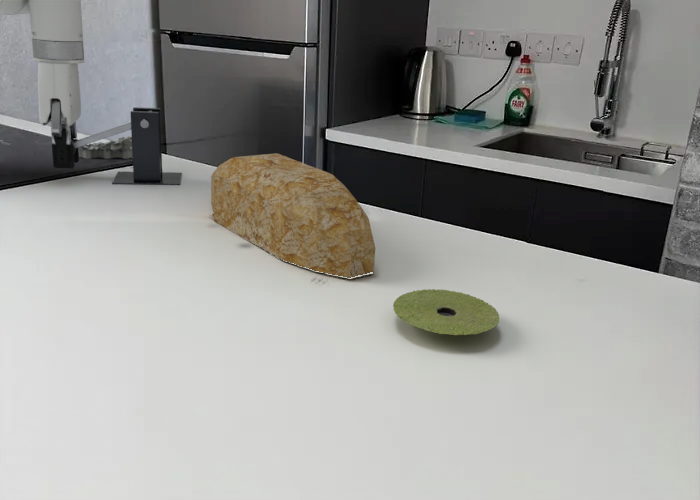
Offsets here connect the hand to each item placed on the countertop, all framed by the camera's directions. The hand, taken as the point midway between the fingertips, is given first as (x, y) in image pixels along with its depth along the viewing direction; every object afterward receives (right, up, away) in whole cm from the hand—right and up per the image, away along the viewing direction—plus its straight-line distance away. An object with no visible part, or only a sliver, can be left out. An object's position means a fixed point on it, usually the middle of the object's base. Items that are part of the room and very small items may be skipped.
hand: (66, 163), depth 115 cm
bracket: (+13, -3, +4) cm, 14 cm away
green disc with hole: (+58, -23, -42) cm, 75 cm away
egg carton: (+1, +3, +19) cm, 19 cm away
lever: (+7, +3, 0) cm, 8 cm away
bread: (+38, -13, -17) cm, 44 cm away
